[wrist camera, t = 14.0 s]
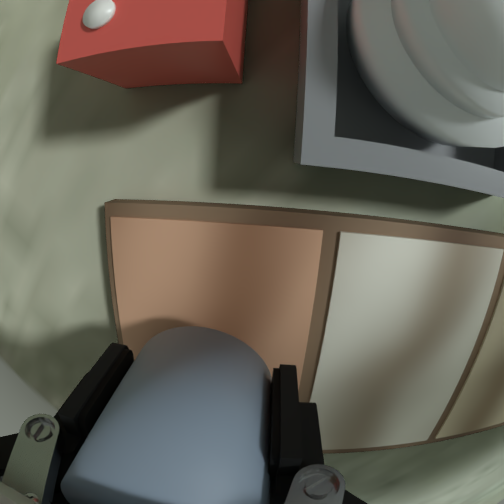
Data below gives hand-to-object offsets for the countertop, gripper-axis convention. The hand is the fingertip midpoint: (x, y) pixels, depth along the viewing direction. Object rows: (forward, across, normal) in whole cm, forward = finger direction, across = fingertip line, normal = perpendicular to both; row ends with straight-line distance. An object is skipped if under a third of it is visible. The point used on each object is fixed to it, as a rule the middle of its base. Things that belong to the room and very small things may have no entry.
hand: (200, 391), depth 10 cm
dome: (+1, -7, -12) cm, 14 cm away
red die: (+3, +2, -12) cm, 13 cm away
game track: (+3, -8, 0) cm, 8 cm away
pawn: (0, 0, 0) cm, 0 cm away
